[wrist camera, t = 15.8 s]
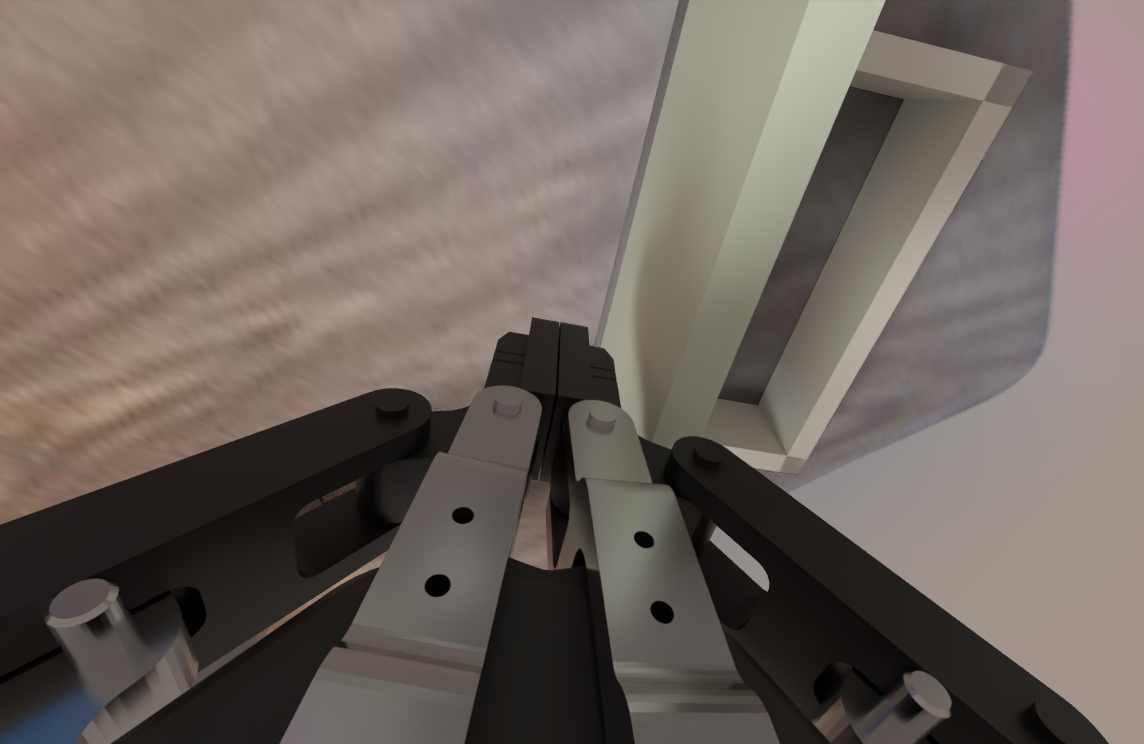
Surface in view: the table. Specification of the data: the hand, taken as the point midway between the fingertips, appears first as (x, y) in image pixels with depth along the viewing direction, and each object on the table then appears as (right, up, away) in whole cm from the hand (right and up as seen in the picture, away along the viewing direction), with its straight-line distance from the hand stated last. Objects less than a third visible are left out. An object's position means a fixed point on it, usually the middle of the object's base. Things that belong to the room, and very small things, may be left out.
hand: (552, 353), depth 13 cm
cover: (+3, +1, +3) cm, 5 cm away
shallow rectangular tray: (+10, +6, +13) cm, 17 cm away
